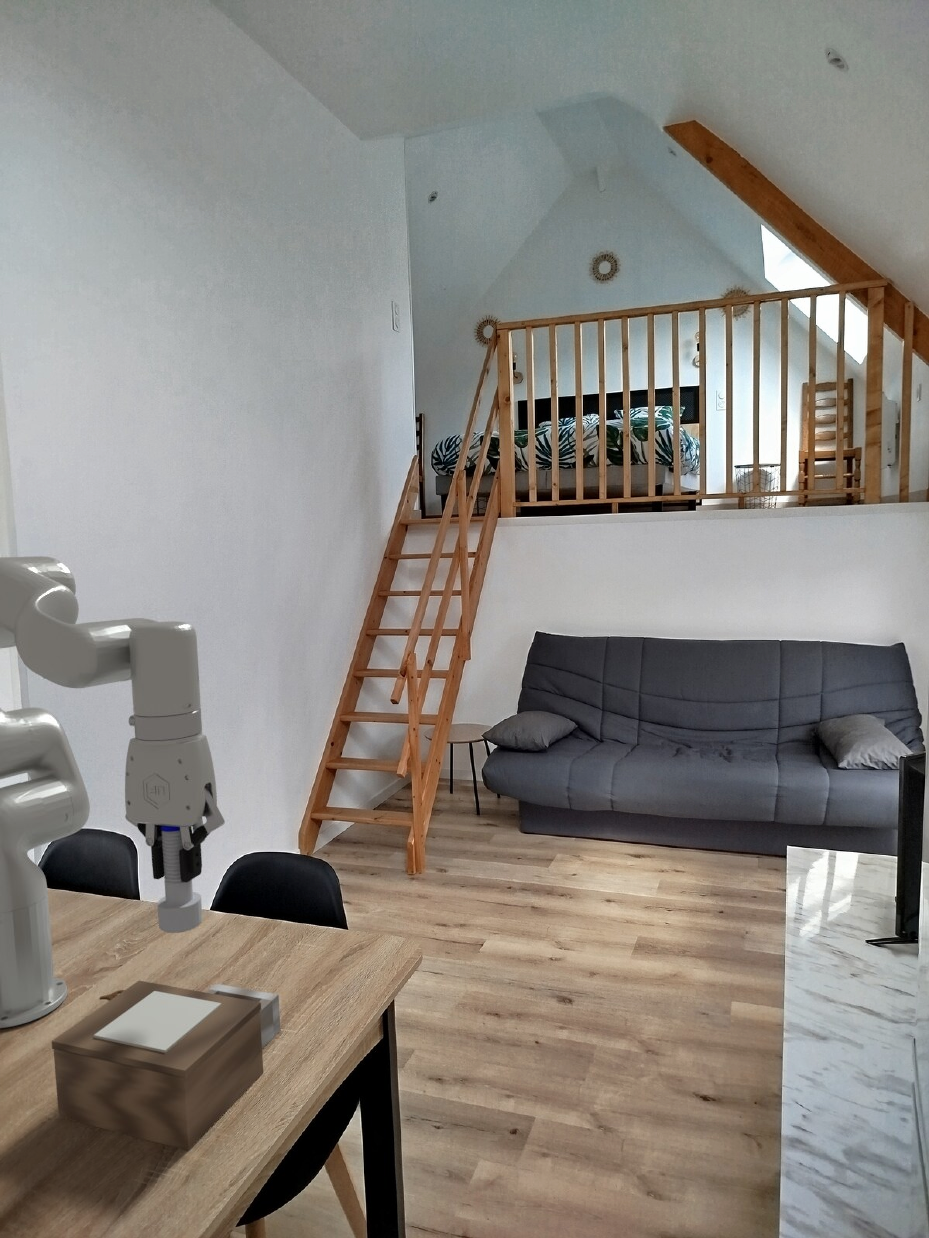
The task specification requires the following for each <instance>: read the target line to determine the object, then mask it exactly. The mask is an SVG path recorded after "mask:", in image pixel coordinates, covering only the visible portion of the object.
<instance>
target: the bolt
mask: <svg viewBox="0 0 929 1238" xmlns="http://www.w3.org/2000/svg"><path fill="white" fill-rule="evenodd" d="M161 826H162V828H161V830H162V834H163V835H162V838H163V839H162V842H163V843H162V845H163V847H162V848H163V853H164V854H163V857H164V858H163V860H164V862H163V864H164V877H163V878H164V894H165V895H164V897H161V898H160V899H159V900H158V901H157V914H158V915H157V917H158V928H159V929H160V930H161V931H162V932H164V933H168V934H180V933H186V932H188V931H192V930H194V929H195V928H197V927H199V926H200V925H201V923H202V921H203V906H202V895H201V894H200V893H199V892H195V891H194V890H193V879H192V880H190V881H189V882H187V883H186V882H182V881H181V877H180V860H179V851H180V850H181V849H183V848H184V847H183V843H182V837H181V831H180V827H177V826H165V825H161Z"/></svg>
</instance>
